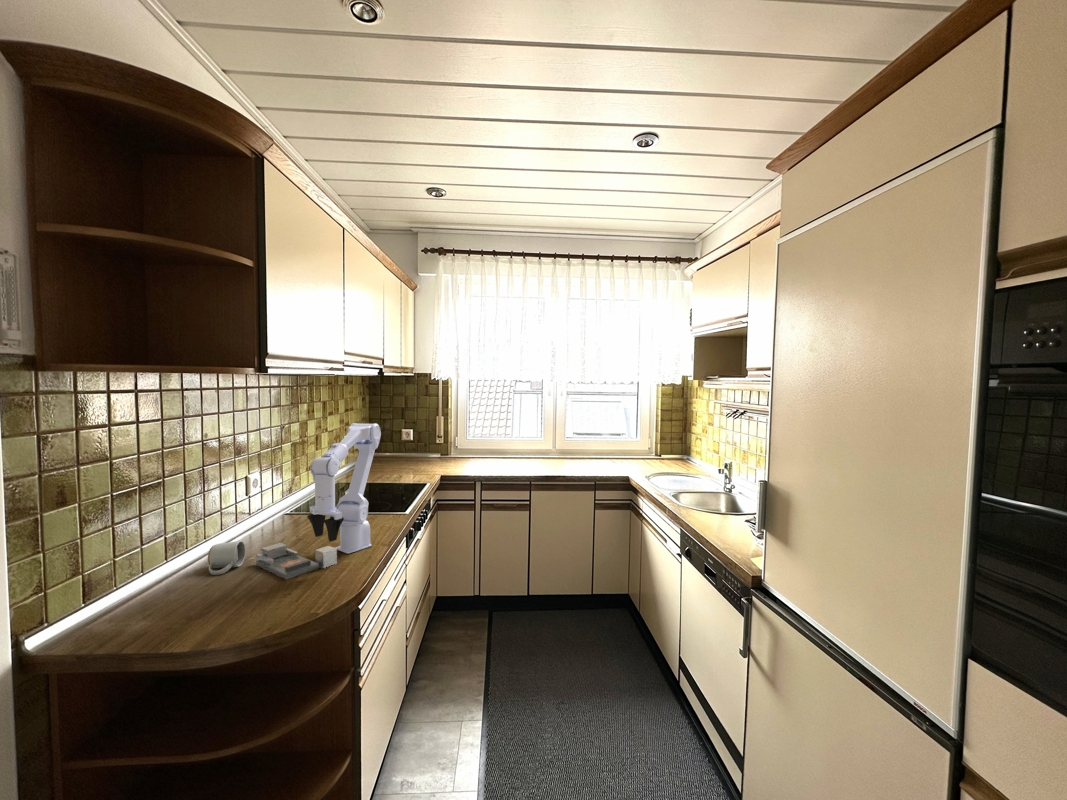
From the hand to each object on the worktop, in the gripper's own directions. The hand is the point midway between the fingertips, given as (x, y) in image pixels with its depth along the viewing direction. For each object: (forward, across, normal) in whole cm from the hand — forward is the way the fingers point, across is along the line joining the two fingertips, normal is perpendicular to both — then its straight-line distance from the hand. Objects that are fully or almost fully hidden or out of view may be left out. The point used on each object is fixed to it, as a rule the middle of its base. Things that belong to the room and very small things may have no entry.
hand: (325, 538), depth 146 cm
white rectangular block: (+8, 0, 0) cm, 8 cm away
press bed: (+8, -8, -8) cm, 14 cm away
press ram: (+7, -16, -8) cm, 19 cm away
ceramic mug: (+9, -23, -19) cm, 31 cm away
